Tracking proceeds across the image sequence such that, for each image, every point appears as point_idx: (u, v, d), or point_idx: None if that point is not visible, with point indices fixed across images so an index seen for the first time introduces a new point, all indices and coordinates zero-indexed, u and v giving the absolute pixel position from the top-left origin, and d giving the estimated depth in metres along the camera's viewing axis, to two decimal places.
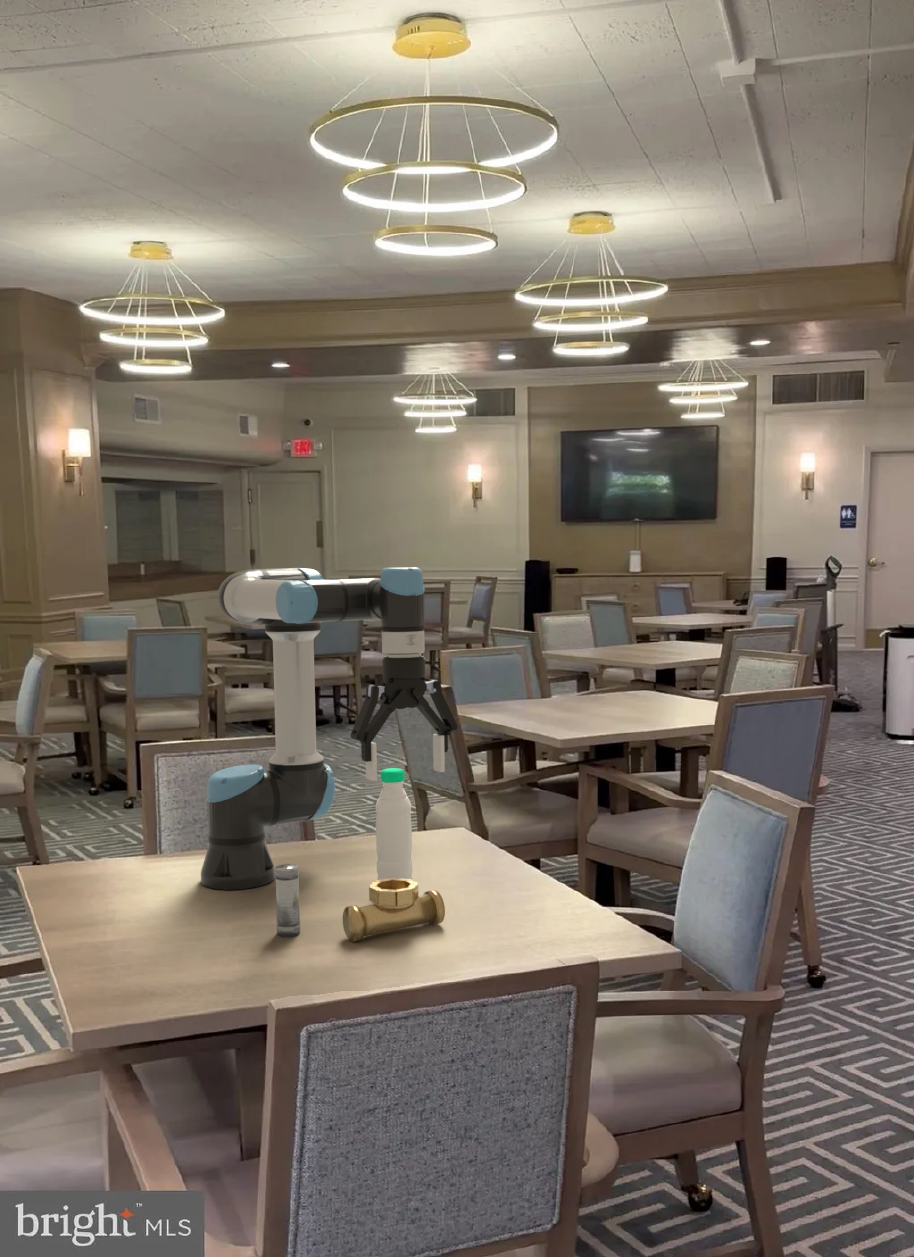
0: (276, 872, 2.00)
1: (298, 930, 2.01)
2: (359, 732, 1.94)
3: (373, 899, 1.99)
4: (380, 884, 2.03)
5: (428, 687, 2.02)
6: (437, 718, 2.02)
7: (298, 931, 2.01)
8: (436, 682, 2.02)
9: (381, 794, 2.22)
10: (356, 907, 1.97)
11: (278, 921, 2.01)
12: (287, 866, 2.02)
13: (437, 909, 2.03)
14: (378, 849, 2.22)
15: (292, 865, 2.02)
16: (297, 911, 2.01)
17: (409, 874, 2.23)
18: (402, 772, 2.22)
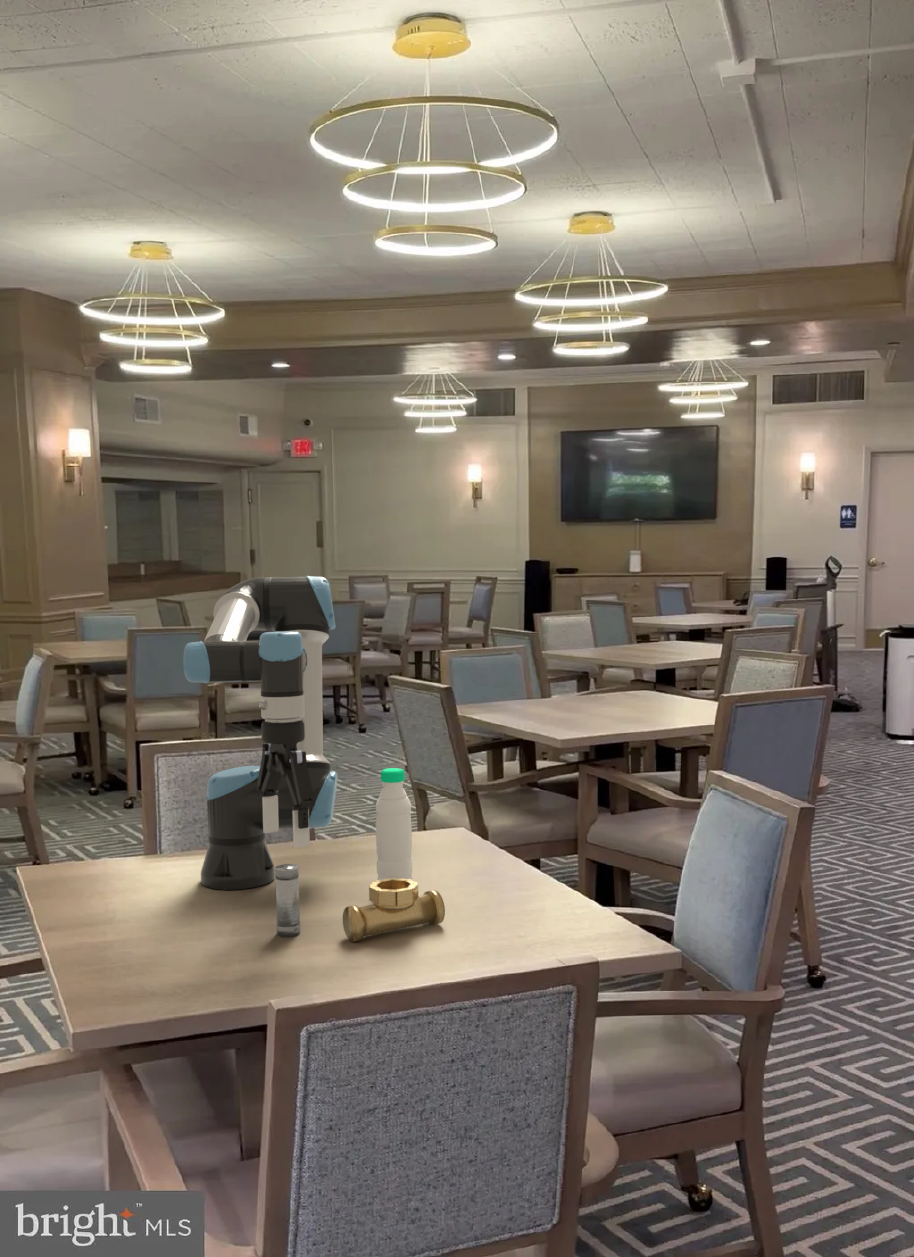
0: (276, 872, 2.00)
1: (298, 930, 2.01)
2: (257, 783, 2.08)
3: (373, 899, 1.99)
4: (380, 884, 2.03)
5: None
6: (291, 790, 1.95)
7: (298, 931, 2.01)
8: (290, 753, 1.94)
9: (381, 794, 2.22)
10: (356, 907, 1.97)
11: (278, 921, 2.01)
12: (287, 866, 2.02)
13: (437, 909, 2.03)
14: (378, 849, 2.22)
15: (292, 865, 2.02)
16: (297, 911, 2.01)
17: (409, 874, 2.23)
18: (402, 772, 2.22)
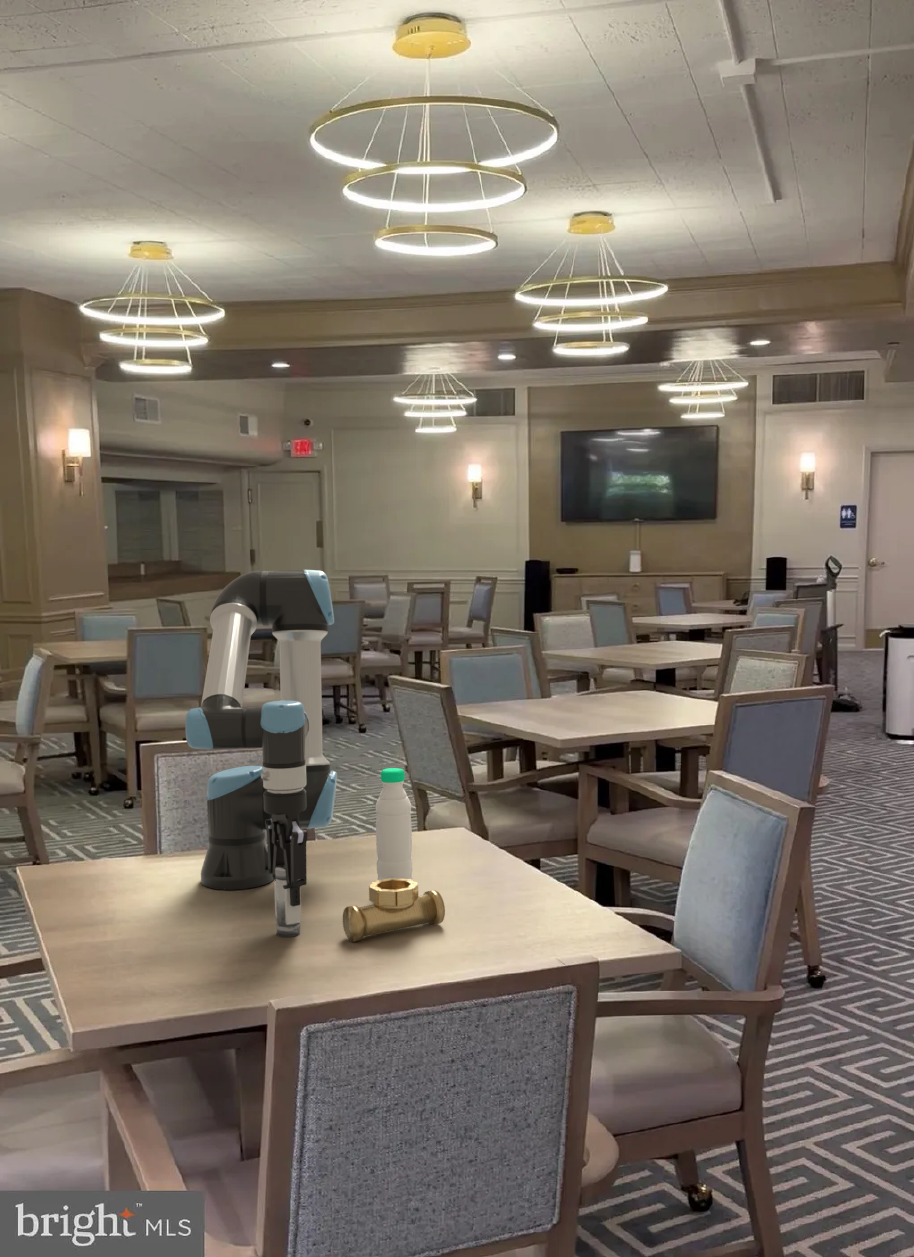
0: (276, 872, 2.00)
1: (298, 930, 2.01)
2: (268, 866, 2.05)
3: (373, 899, 1.99)
4: (380, 884, 2.03)
5: (293, 831, 1.97)
6: (286, 867, 1.98)
7: (298, 931, 2.01)
8: (292, 833, 1.95)
9: (381, 794, 2.22)
10: (356, 907, 1.97)
11: (278, 921, 2.01)
12: None
13: (437, 909, 2.03)
14: (378, 849, 2.22)
15: None
16: None
17: (409, 874, 2.23)
18: (402, 772, 2.22)
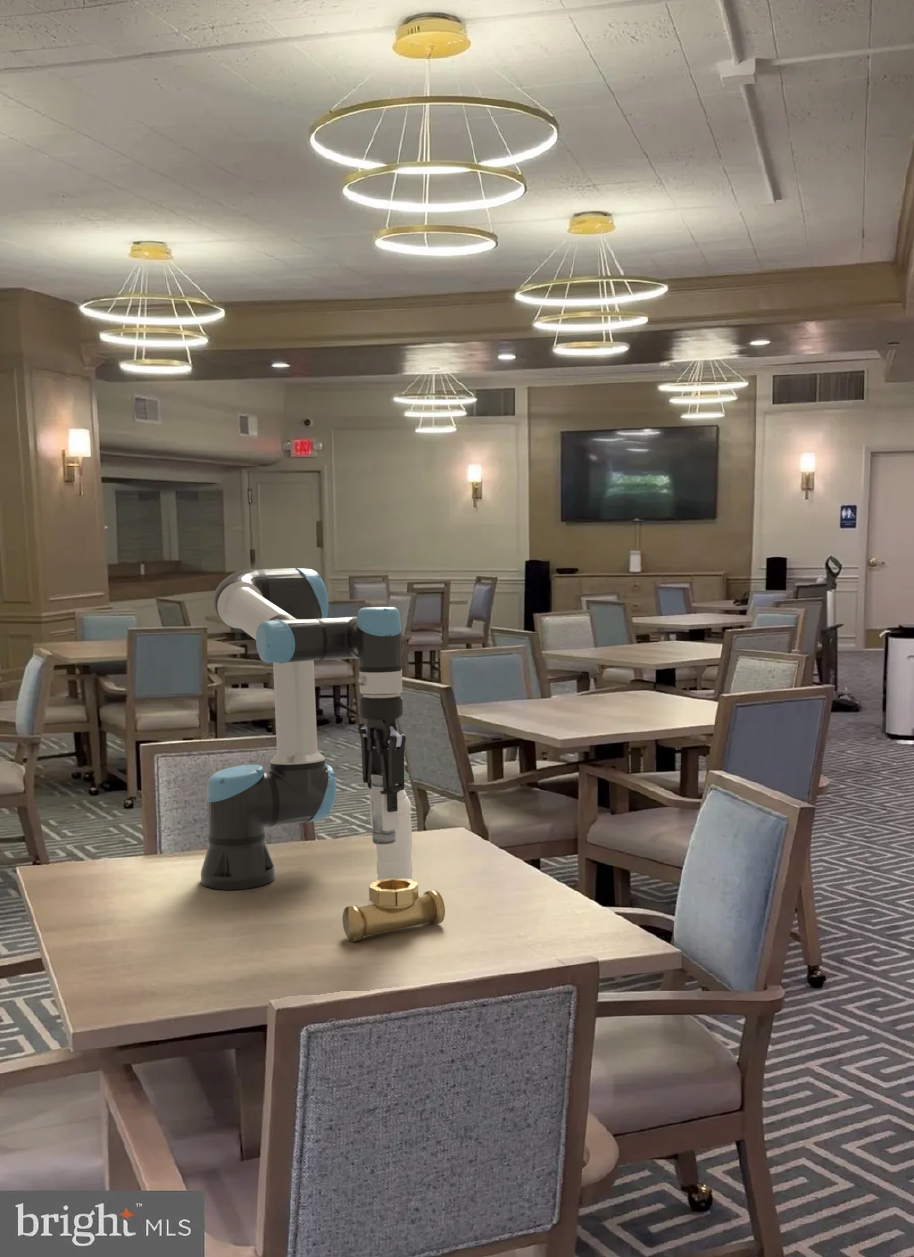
0: (372, 779, 1.99)
1: (394, 838, 2.00)
2: (363, 775, 2.04)
3: (373, 899, 1.99)
4: (380, 884, 2.03)
5: (391, 736, 1.96)
6: (384, 772, 1.97)
7: (394, 839, 2.00)
8: (391, 736, 1.94)
9: None
10: (356, 907, 1.97)
11: (374, 828, 1.99)
12: None
13: (437, 909, 2.03)
14: (378, 849, 2.22)
15: None
16: None
17: (409, 874, 2.23)
18: None
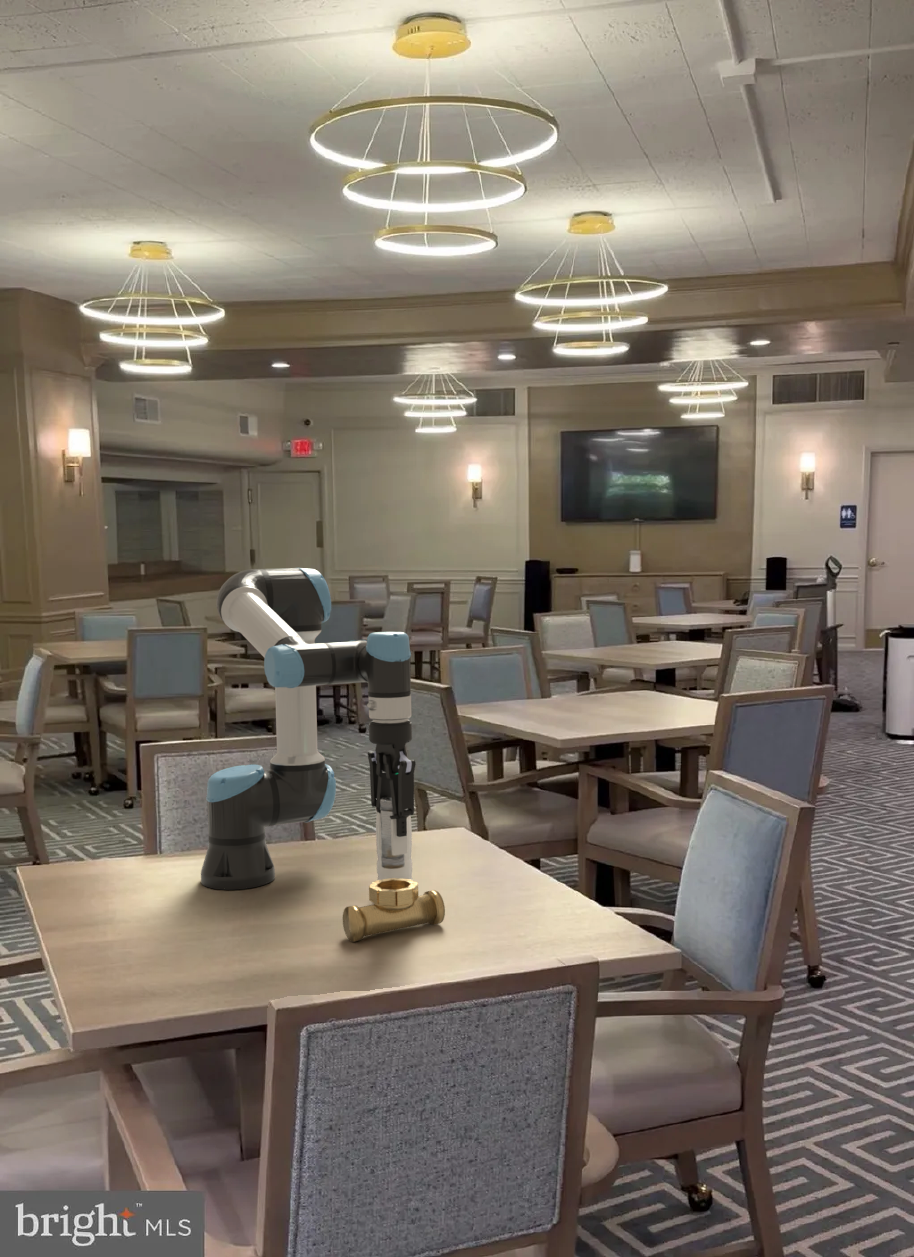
0: (381, 803, 1.99)
1: (403, 862, 2.00)
2: (371, 799, 2.04)
3: (373, 899, 1.99)
4: (380, 884, 2.03)
5: (401, 761, 1.96)
6: (393, 797, 1.97)
7: (403, 863, 2.00)
8: (401, 762, 1.94)
9: None
10: (356, 907, 1.97)
11: (383, 853, 2.00)
12: None
13: (437, 909, 2.03)
14: (378, 849, 2.22)
15: None
16: None
17: (409, 874, 2.23)
18: None
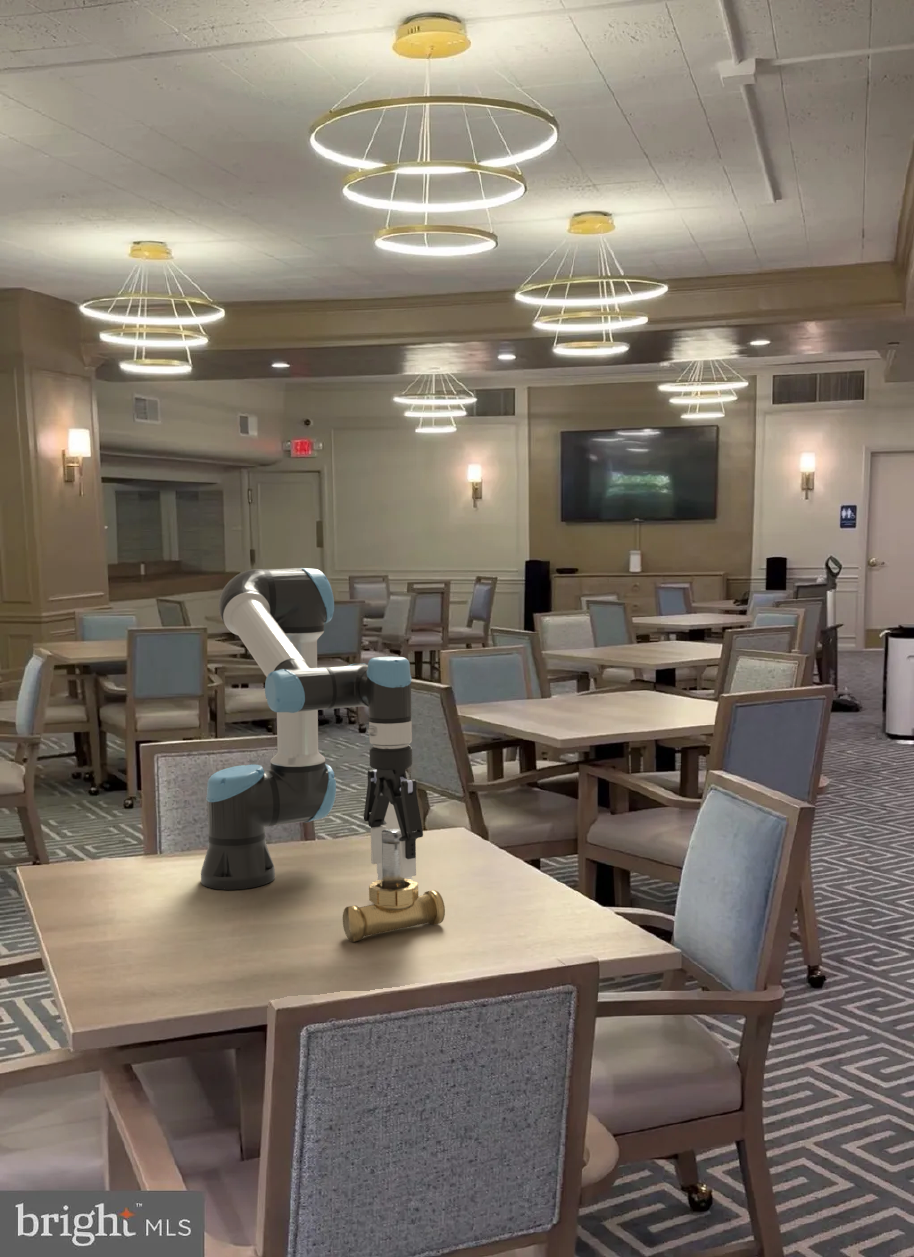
0: (383, 836, 2.00)
1: None
2: (364, 813, 2.07)
3: (373, 899, 1.99)
4: (380, 884, 2.03)
5: None
6: (399, 819, 1.96)
7: None
8: (401, 782, 1.95)
9: None
10: (356, 907, 1.97)
11: (384, 885, 2.00)
12: (393, 830, 2.01)
13: (437, 909, 2.03)
14: None
15: (398, 829, 2.02)
16: None
17: None
18: None
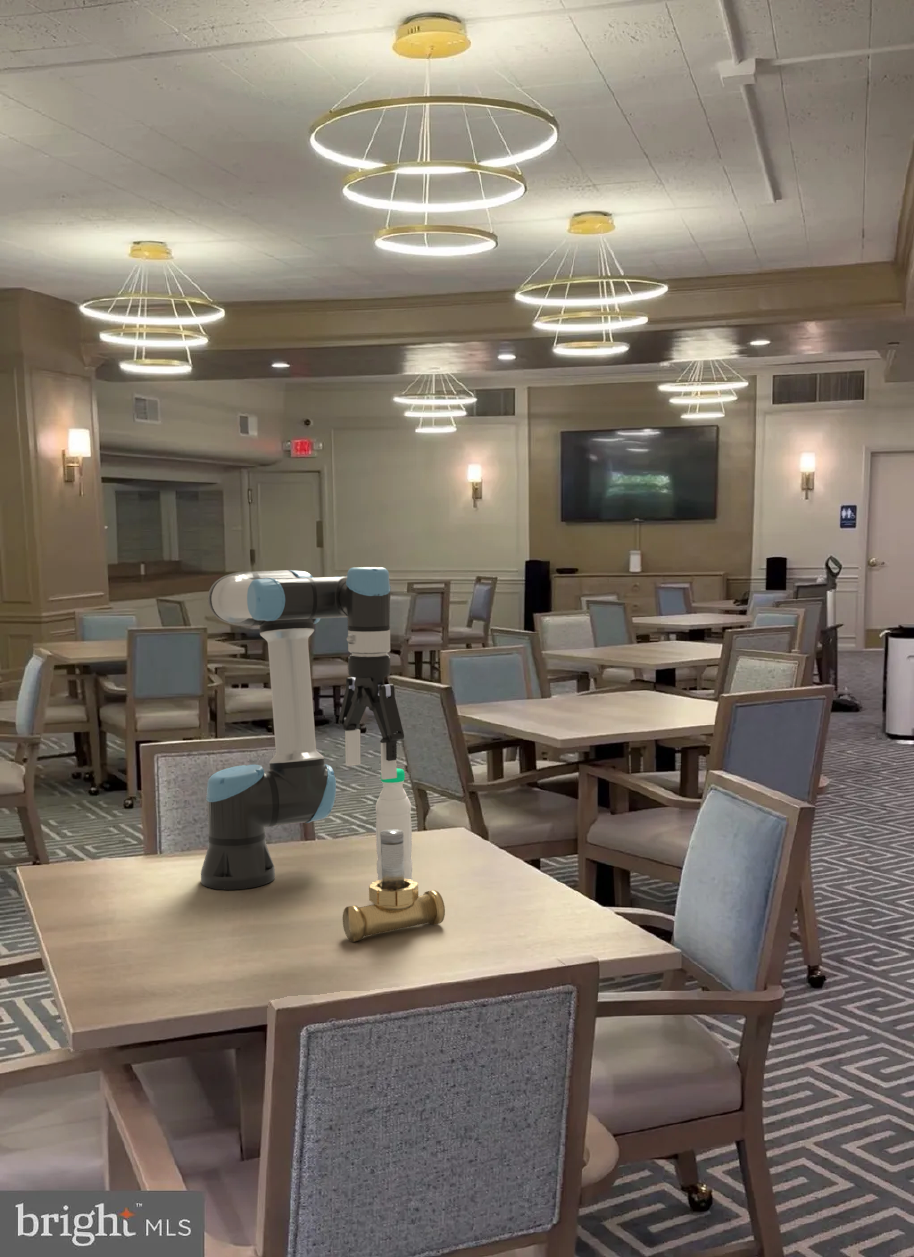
0: (382, 837, 2.00)
1: None
2: (339, 717, 2.11)
3: (373, 899, 1.99)
4: (380, 884, 2.03)
5: None
6: (379, 723, 1.97)
7: None
8: (379, 686, 1.97)
9: (381, 794, 2.22)
10: (356, 907, 1.97)
11: (384, 886, 2.00)
12: (392, 831, 2.01)
13: (437, 909, 2.03)
14: (378, 849, 2.22)
15: (397, 830, 2.02)
16: (403, 876, 2.00)
17: (409, 874, 2.23)
18: (402, 772, 2.22)
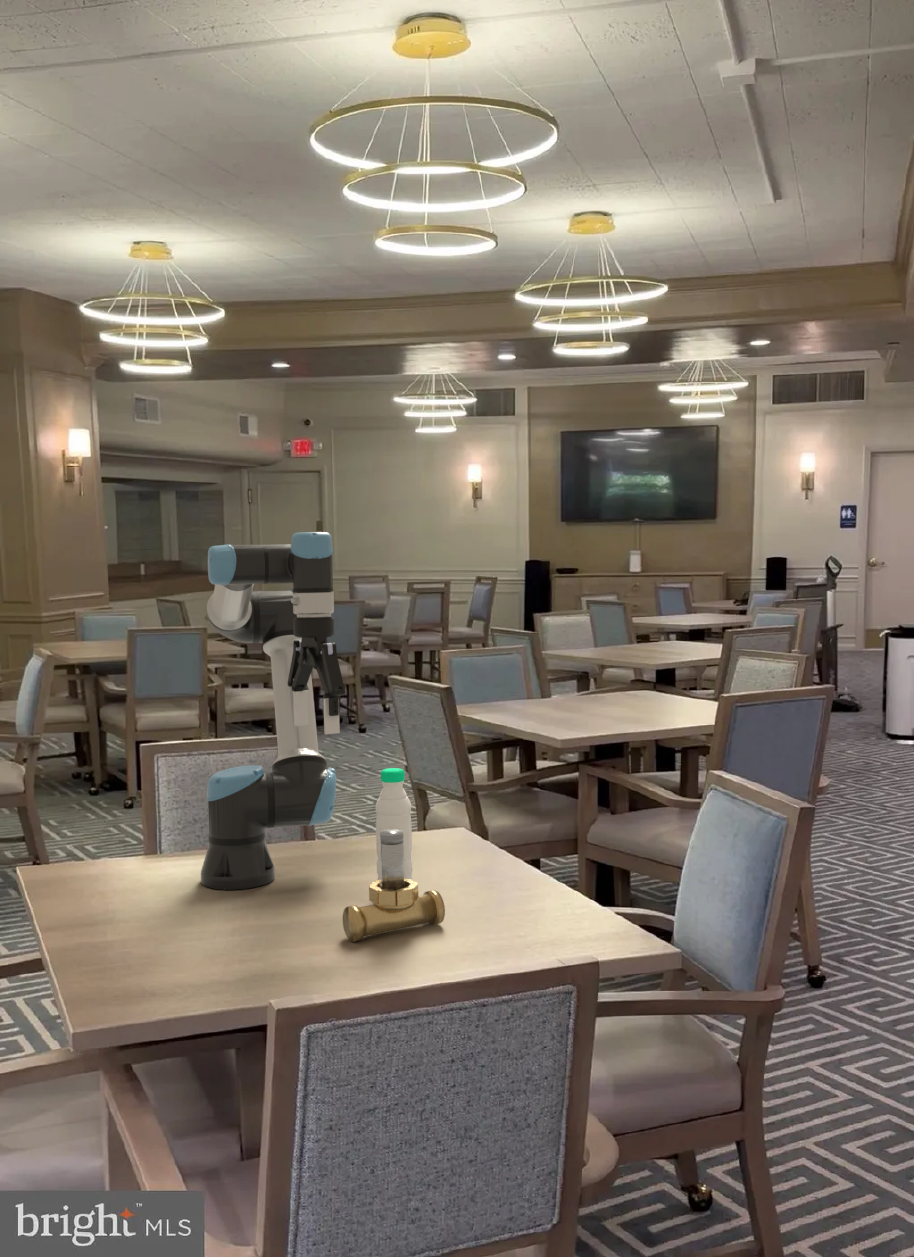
0: (382, 837, 2.00)
1: None
2: (288, 679, 2.19)
3: (373, 899, 1.99)
4: (380, 884, 2.03)
5: None
6: (322, 680, 2.06)
7: None
8: (321, 645, 2.05)
9: (381, 794, 2.22)
10: (356, 907, 1.97)
11: (384, 886, 2.00)
12: (392, 831, 2.01)
13: (437, 909, 2.03)
14: (378, 849, 2.22)
15: (396, 830, 2.02)
16: (403, 876, 2.00)
17: (409, 874, 2.23)
18: (402, 772, 2.22)
